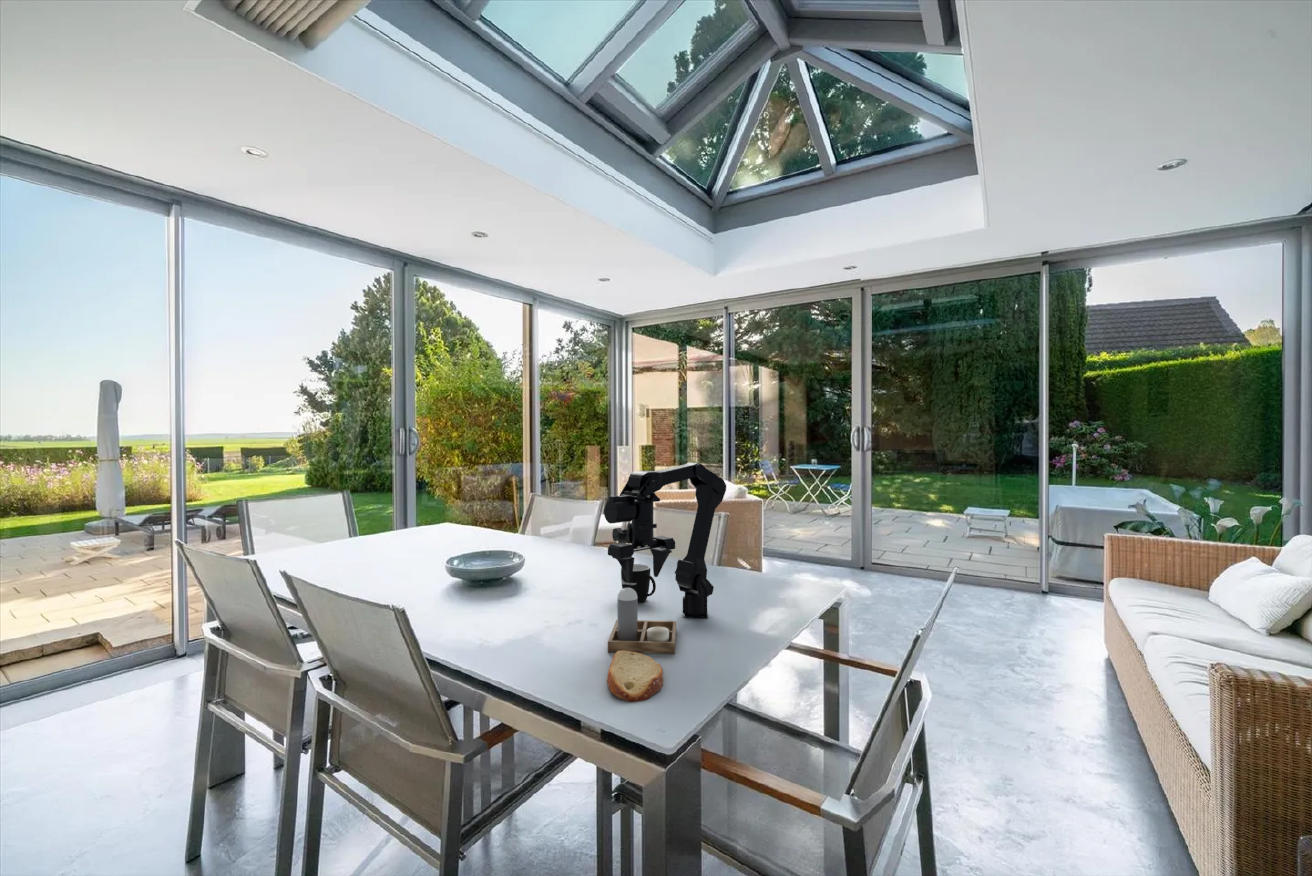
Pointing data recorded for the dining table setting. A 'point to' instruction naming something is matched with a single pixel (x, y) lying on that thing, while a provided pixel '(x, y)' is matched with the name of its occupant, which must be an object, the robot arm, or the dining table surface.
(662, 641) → the caddy
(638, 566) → the mug
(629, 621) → the grey rounded cylinder
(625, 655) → the slice of bread
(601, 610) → the dining table surface
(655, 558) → the robot arm
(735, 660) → the dining table surface
